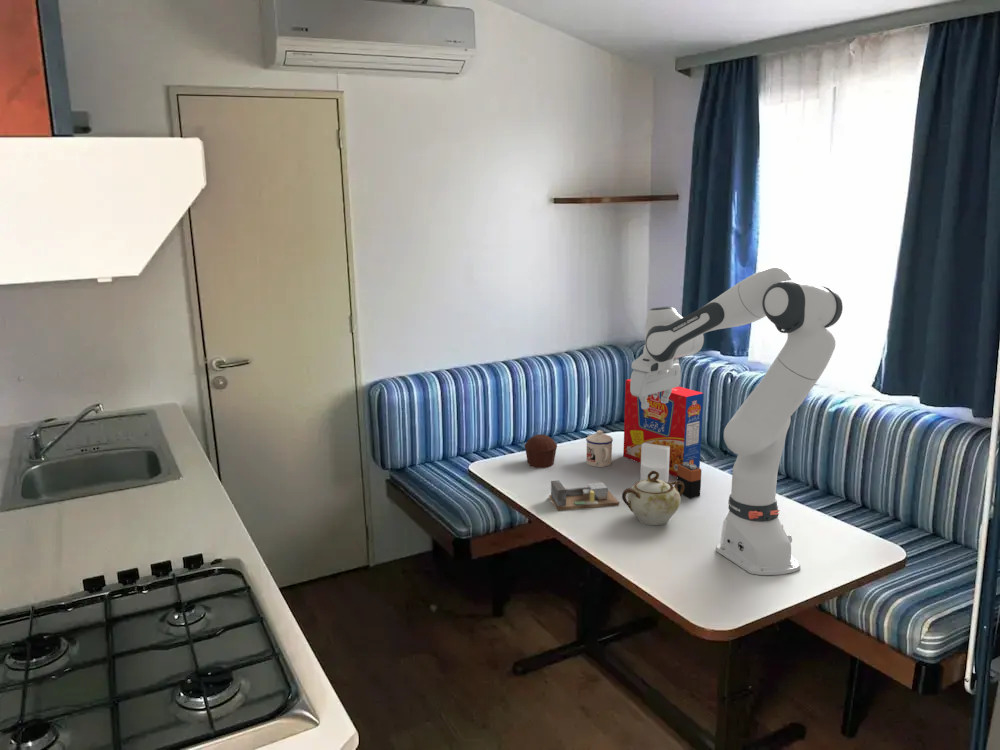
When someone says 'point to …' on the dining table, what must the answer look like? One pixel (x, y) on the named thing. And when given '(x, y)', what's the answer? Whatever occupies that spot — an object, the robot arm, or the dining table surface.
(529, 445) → the muffin
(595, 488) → the gauge plunger
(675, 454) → the pasta box
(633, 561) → the dining table surface
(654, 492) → the sugar bowl
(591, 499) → the telltale marker
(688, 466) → the battery
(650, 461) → the base with upright slab
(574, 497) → the bench
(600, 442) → the teacup with lid
